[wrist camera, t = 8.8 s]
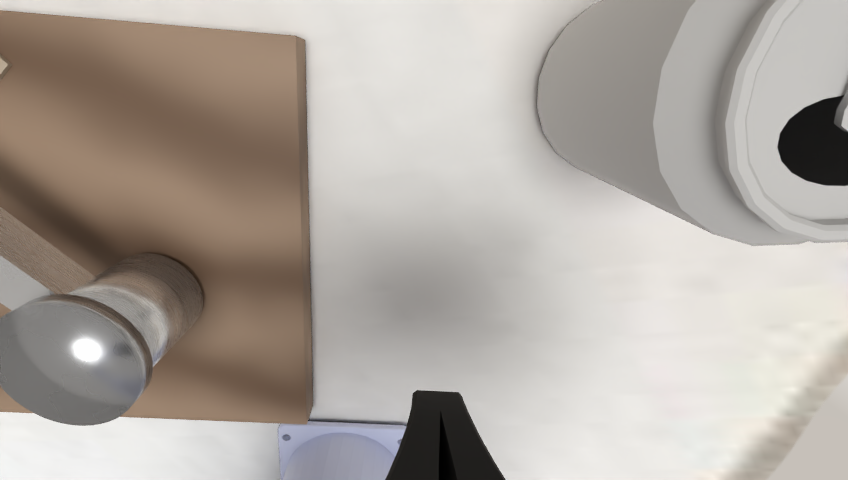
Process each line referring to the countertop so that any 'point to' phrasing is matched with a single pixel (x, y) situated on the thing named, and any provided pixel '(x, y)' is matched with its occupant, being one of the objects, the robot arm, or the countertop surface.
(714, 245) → the countertop surface
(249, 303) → the brown flat wooden board
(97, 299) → the grey bar with knobs
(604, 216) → the countertop surface
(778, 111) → the can
